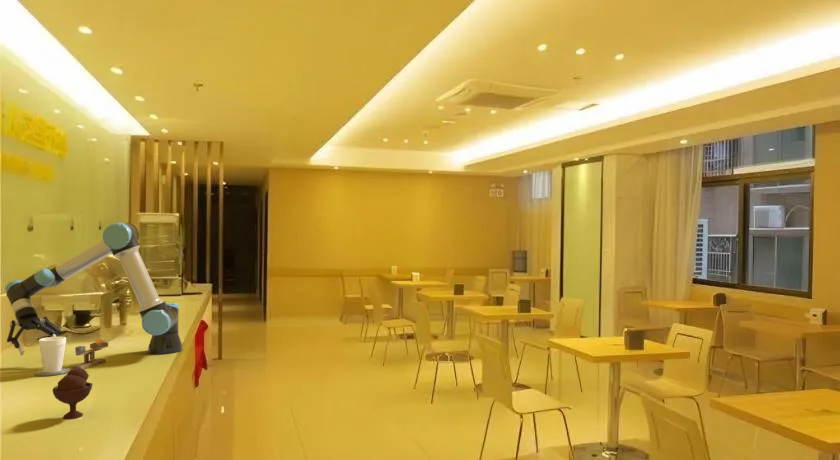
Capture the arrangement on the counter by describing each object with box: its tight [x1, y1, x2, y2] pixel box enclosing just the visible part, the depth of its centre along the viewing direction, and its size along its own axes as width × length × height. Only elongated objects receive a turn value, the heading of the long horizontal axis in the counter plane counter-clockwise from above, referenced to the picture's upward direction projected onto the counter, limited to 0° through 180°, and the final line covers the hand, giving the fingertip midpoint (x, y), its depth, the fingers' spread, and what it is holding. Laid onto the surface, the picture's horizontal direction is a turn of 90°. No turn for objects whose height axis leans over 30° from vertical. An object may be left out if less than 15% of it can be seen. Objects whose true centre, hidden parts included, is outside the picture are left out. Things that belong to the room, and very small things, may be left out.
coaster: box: [34, 366, 71, 377], centre depth 244 cm, size 12×12×1 cm
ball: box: [94, 338, 104, 344], centre depth 262 cm, size 3×3×3 cm
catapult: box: [71, 341, 109, 370], centre depth 256 cm, size 5×16×9 cm, turn 170°
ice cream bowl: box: [52, 368, 94, 420], centre depth 188 cm, size 11×11×15 cm
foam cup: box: [38, 336, 67, 372], centre depth 244 cm, size 10×9×13 cm
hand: (40, 350), depth 250 cm, fingers open, 13 cm apart
